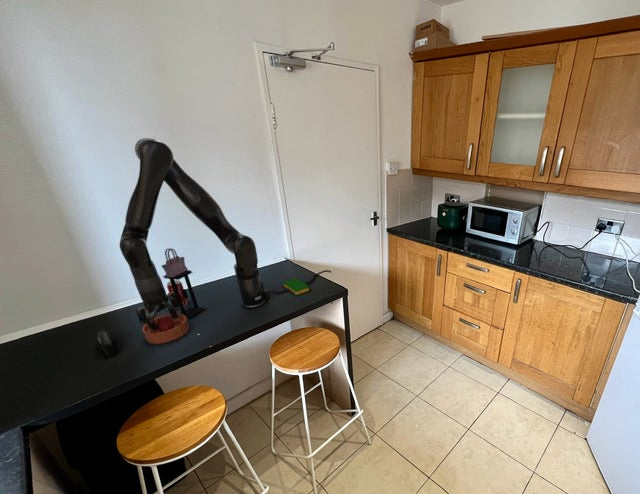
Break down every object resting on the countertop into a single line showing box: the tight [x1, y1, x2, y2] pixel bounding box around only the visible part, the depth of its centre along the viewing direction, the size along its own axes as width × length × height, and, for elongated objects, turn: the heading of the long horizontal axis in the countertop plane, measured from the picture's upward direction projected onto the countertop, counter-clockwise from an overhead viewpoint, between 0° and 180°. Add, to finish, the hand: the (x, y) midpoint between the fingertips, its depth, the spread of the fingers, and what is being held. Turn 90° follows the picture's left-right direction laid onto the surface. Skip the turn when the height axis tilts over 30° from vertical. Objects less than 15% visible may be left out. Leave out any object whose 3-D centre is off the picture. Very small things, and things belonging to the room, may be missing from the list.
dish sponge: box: [282, 277, 310, 296], centre depth 159 cm, size 7×14×2 cm, turn 44°
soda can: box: [166, 279, 189, 309], centre depth 141 cm, size 6×6×12 cm
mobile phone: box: [97, 330, 117, 356], centre depth 115 cm, size 5×3×15 cm
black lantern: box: [161, 247, 206, 319], centre depth 131 cm, size 10×8×30 cm
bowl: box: [141, 313, 190, 345], centre depth 123 cm, size 14×14×5 cm
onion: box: [156, 314, 175, 332], centre depth 122 cm, size 6×6×8 cm
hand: (165, 323), depth 122 cm, fingers open, 8 cm apart
